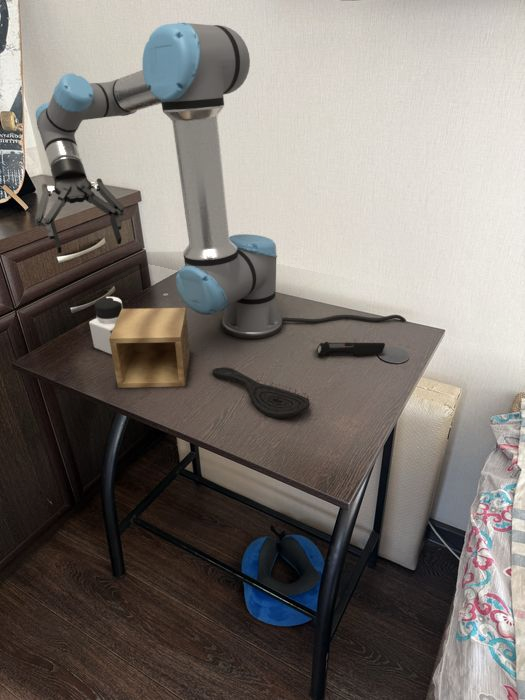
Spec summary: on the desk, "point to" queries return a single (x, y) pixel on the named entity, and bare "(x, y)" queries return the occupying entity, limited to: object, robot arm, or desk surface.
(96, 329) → the medicine bottle
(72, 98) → the robot arm
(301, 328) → the desk surface
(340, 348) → the electric trimmer
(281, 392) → the hairbrush
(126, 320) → the shelf
